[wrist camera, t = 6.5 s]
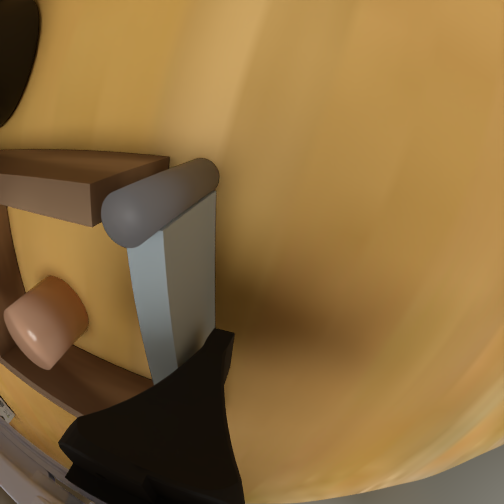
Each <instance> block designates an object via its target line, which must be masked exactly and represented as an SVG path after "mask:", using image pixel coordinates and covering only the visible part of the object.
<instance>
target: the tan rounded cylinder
mask: <svg viewBox="0 0 504 504" xmlns="http://www.w3.org/2000/svg"><path fill="white" fill-rule="evenodd" d="M4 320H5V324H6V326H7V329H8V331H9V333H10V335H11V336H12V338H13V340H14V341H15V343H16V344H17V345H18V347H19V348H20V349H21V351H22V352H23V353H24V354H25V355H26V356H27V357H28V358H29V359H30V360H31V361H32V362H33V363H35V364H36V365H37V366H39V367H41V368H43V369H45V370H50V369H51V368H52V367H53V366H54V365H55V364H56V362H57V361H58V360H59V359H60V358H61V357H62V356H63V355H64V354H65V352H66V351H67V350H68V349H69V348H70V347H71V346H72V345H73V344H74V343H75V342H76V341H77V339H78V338H79V337H80V336H81V335H82V334H83V333H84V332H85V331H86V330H87V328H88V324H89V321H88V315H87V312H86V310H85V307H84V305H83V303H82V302H81V300H80V298H79V297H78V295H77V294H76V293H75V292H74V290H73V289H72V288H71V287H70V286H69V285H68V284H67V283H66V282H64V281H63V280H61V279H60V278H58V277H55V276H48V277H46V278H45V279H43V280H42V281H41V282H40V283H38V284H37V285H36V286H34V287H33V288H32V289H30V290H29V291H28V292H27V293H25V294H24V295H23V296H21V297H20V298H19V299H18V300H17V301H15V302H14V303H13V304H12V305H10V306H9V307H8V308H7V309H6V310H5V311H4Z"/></svg>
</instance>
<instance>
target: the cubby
mask: <svg viewBox="0 0 504 504" xmlns="http://www.w3.org/2000/svg"><path fill="white" fill-rule="evenodd" d="M167 169H169V157H165V156H156V155H145V154H134V153H121V152H107V151H88V150H59V149H16V150H0V363H1V364H3V365H4V366H5V367H6V368H7V369H9V370H10V371H11V372H12V373H13V374H15V375H16V376H17V377H19V378H20V379H21V380H22V381H24V382H25V383H26V384H28V385H29V386H30V387H32V388H33V389H34V390H36V391H37V392H39V393H40V394H41V395H43V396H44V397H46V398H47V399H49V400H50V401H52V402H53V403H55V404H56V405H58V406H59V407H61V408H63V409H64V410H66V411H67V412H69V413H71V414H72V415H74V416H76V417H77V418H78V417H80V416H83V415H87V414H90V413H93V412H97V411H100V410H103V409H106V408H109V407H111V406H113V405H116V404H118V403H121V402H123V401H125V400H128V399H130V398H132V397H134V396H136V395H138V394H139V393H141V392H143V391H145V390H147V389H148V388H150V387H152V386H153V385H154V383H153V381H152V380H150V379H147V378H144V377H142V376H139V375H137V374H134V373H132V372H130V371H127V370H125V369H122V368H120V367H118V366H116V365H113V364H111V363H109V362H107V361H104V360H102V359H100V358H98V357H96V356H94V355H92V354H90V353H88V352H85V351H83V350H81V349H79V348H77V347H76V346H74V345H72V346H71V347H70V348H69V349H68V350H67V351H66V352H65V354H64V355H63V356H62V357H61V358H60V359H59V360H58V361H57V362H56V364H55V365H54V366H53V367H52V368H51V369H50V370H45V369H43V368H41V367H39V366H37V365H36V364H35V363H33V362H32V361H31V360H30V359H29V358H28V357H27V356H26V355H25V354H24V353H23V352H22V351H21V349H20V348H19V347H18V345H17V344H16V343H15V341H14V340H13V338H12V336H11V335H10V333H9V331H8V329H7V326H6V324H5V320H4V311H5V310H6V309H7V308H8V307H9V306H10V305H12V304H13V303H14V302H15V301H17V300H18V299H19V298H20V297H21V296H23V295H24V294H25V290H24V287H23V283H22V280H21V276H20V272H19V268H18V264H17V260H16V256H15V251H14V247H13V242H12V237H11V232H10V226H9V220H8V214H7V207H6V206H9V207H13V208H17V209H21V210H24V211H28V212H32V213H36V214H40V215H44V216H48V217H52V218H56V219H60V220H64V221H68V222H72V223H77V224H81V225H85V226H89V227H94V226H95V225H97V224H99V223H101V222H102V219H101V208H102V204H103V201H104V200H105V198H106V197H107V196H108V195H109V194H110V193H112V192H114V191H116V190H118V189H120V188H123V187H125V186H127V185H130V184H132V183H135V182H137V181H139V180H142V179H144V178H147V177H149V176H152V175H154V174H157V173H159V172H162V171H165V170H167Z"/></svg>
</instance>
